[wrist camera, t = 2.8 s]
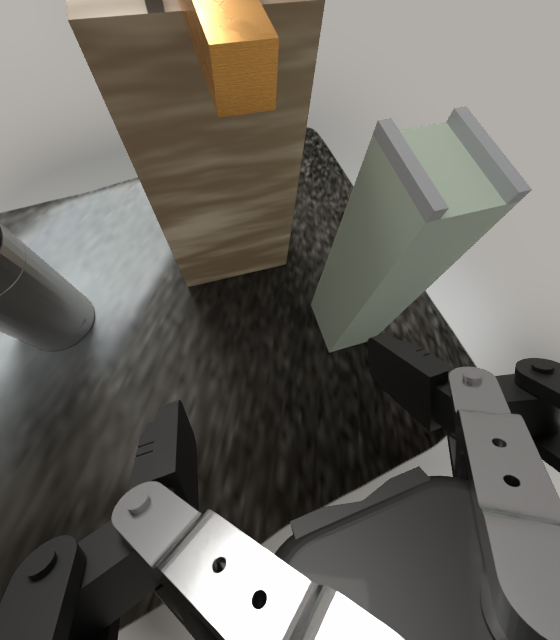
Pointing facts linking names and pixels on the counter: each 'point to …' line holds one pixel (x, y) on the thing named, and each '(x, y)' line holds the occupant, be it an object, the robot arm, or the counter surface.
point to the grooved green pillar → (410, 221)
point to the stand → (204, 131)
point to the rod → (234, 53)
